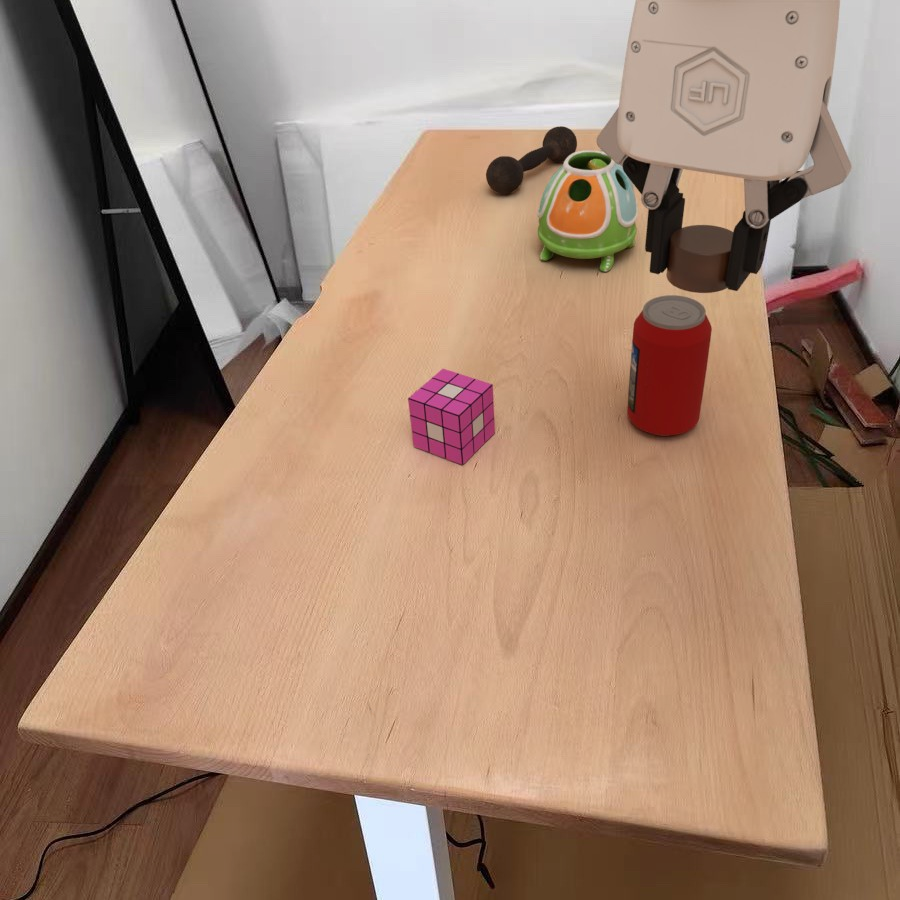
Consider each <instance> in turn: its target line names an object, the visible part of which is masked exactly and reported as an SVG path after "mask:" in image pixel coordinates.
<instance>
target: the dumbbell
mask: <svg viewBox="0 0 900 900" xmlns="http://www.w3.org/2000/svg"><path fill="white" fill-rule="evenodd" d="M577 147H578V141H577V136H576V134H575V133H574V131H573V130H572V129H571V128H568V127H567V126H561V125H560V126H555V127H552V128H550V129H549V130H548V131H547V132H546V133H545V135H544V137H543V141H542V146H541V147H538V148H536V149H533V150H531V151H528V152H527V153H526V154H524V155H523V156H522V157H520V159H517V158H514V156H508V155H501V156H498V157H496V158H494V159H493V160H492V161H490V163H489V164H488V165H487V168H486V172H485V179H486V182H487V183H486V184H487V185H488V187H489V188H490V189H491V190H492V191H493V192H495V193H496V194H499V195H509V194H512V193H514V192H516V191H517V190H518V189H519V188H520V187H521V186H522V183H523V181H524V176H525V175H524V174H525V173H526V172H529V171H531V170H534V169H536V168H538V167H539V166H541V165H542V164H544V163H545V162H546V161H547V160H549V161H550V162H553V163H557V164H558V163H564V161H565V160H566V158H567V157H568V156H569V155H571V154H572V153H574V152H577Z"/></svg>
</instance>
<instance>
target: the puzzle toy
mask: <svg viewBox="0 0 900 900" xmlns="http://www.w3.org/2000/svg"><path fill="white" fill-rule="evenodd" d="M407 403H408V411H409V419H410V427H411V438H412V444H413V447H414V448H416V449H419V450H422V451H424V452H428V453H430V454H433V455H435V456H437V457H440V458H442V459H446V460H448V461H451V462H454V463H456V464H458V465H461V466H463V465H465V464H466V463H467V461H469V459H470V458H472V456H474V454H476V453H477V451H478V450H480V448H481V447H483V446H484V444H485V443H486V442H488V441H489V439H491V437H492V436H493V435H494V434H495V433H496V426H495V403H494V384H493V383H490V382H487V381H483V380H481V379H478V378H474V377H471V376H468V375H465V374H462V373H458V372H456V371H452V370H449V369H446V368H442V369H441V370H439V371H438V372H437V373H435V374H434V375H433V376H432V377H430V379H429V380H428V381H426V382H425V383H424V384H423V385H422V386H421V387H419V388H418V389H417V390H416V391H415V392H413V394H411V395H410V396H409V397H408V398H407Z"/></svg>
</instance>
